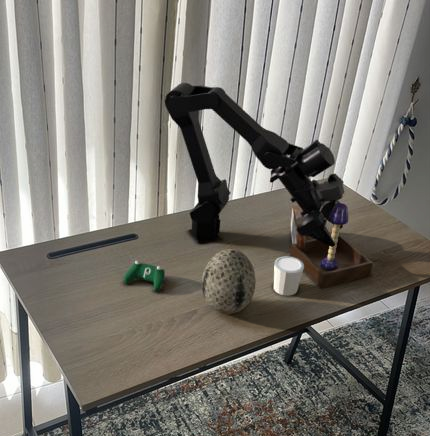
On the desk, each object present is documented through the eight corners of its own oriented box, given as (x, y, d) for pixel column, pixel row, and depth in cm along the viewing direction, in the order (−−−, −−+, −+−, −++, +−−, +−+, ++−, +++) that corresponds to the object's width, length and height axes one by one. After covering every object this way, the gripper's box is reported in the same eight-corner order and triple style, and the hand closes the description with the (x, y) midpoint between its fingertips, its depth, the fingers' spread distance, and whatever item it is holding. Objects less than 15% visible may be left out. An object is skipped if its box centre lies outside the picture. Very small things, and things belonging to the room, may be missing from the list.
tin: (304, 258, 170) (309, 229, 165) (291, 257, 169) (296, 228, 164) (299, 227, 182) (303, 200, 177) (287, 226, 182) (292, 199, 177)
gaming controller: (162, 294, 157) (170, 270, 157) (158, 291, 153) (165, 266, 154) (126, 285, 159) (133, 261, 159) (121, 281, 155) (129, 257, 156)
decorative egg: (192, 298, 153) (195, 242, 144) (239, 289, 157) (245, 234, 148) (211, 329, 145) (216, 271, 136) (260, 319, 149) (268, 262, 140)
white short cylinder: (280, 300, 155) (284, 275, 151) (265, 284, 160) (268, 259, 156) (305, 293, 158) (310, 268, 154) (289, 277, 162) (293, 253, 158)
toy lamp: (316, 260, 169) (327, 201, 159) (333, 258, 170) (345, 199, 160) (325, 271, 165) (336, 211, 155) (342, 269, 166) (354, 209, 156)
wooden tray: (321, 288, 160) (323, 274, 158) (289, 257, 170) (291, 243, 168) (369, 275, 165) (373, 262, 163) (336, 246, 176) (339, 233, 173)
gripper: (318, 185, 146) (358, 240, 150) (335, 153, 161) (372, 204, 165) (279, 209, 153) (319, 261, 157) (299, 176, 167) (335, 224, 171)
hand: (337, 236), depth 162 cm, fingers open, 9 cm apart
